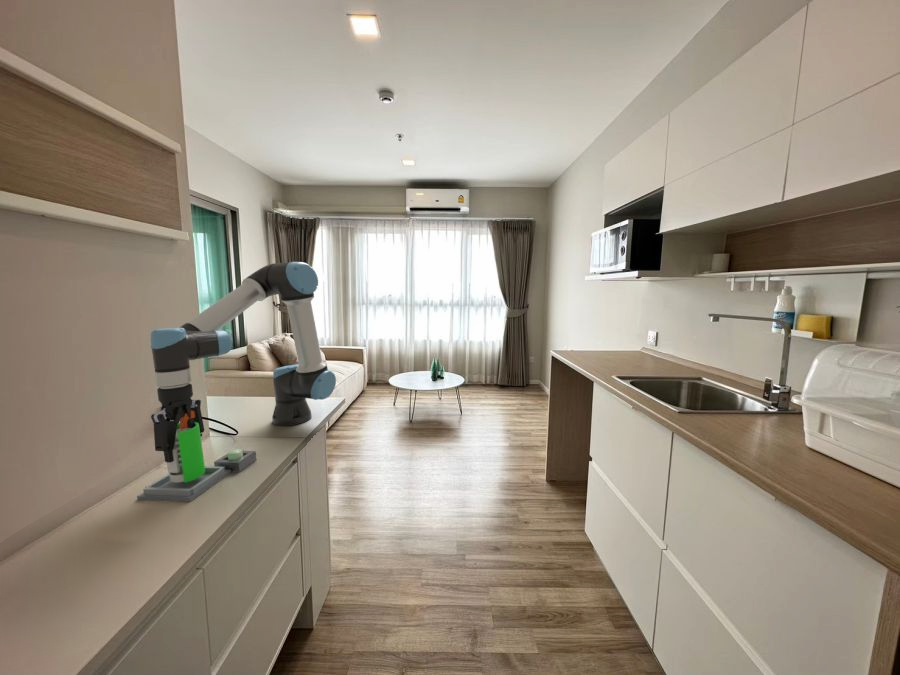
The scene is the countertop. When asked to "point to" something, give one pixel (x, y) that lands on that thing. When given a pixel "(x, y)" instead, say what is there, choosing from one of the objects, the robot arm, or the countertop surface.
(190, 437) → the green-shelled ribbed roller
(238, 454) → the button
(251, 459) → the dark grey square holder
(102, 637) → the countertop surface
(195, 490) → the grey square tray
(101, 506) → the countertop surface
